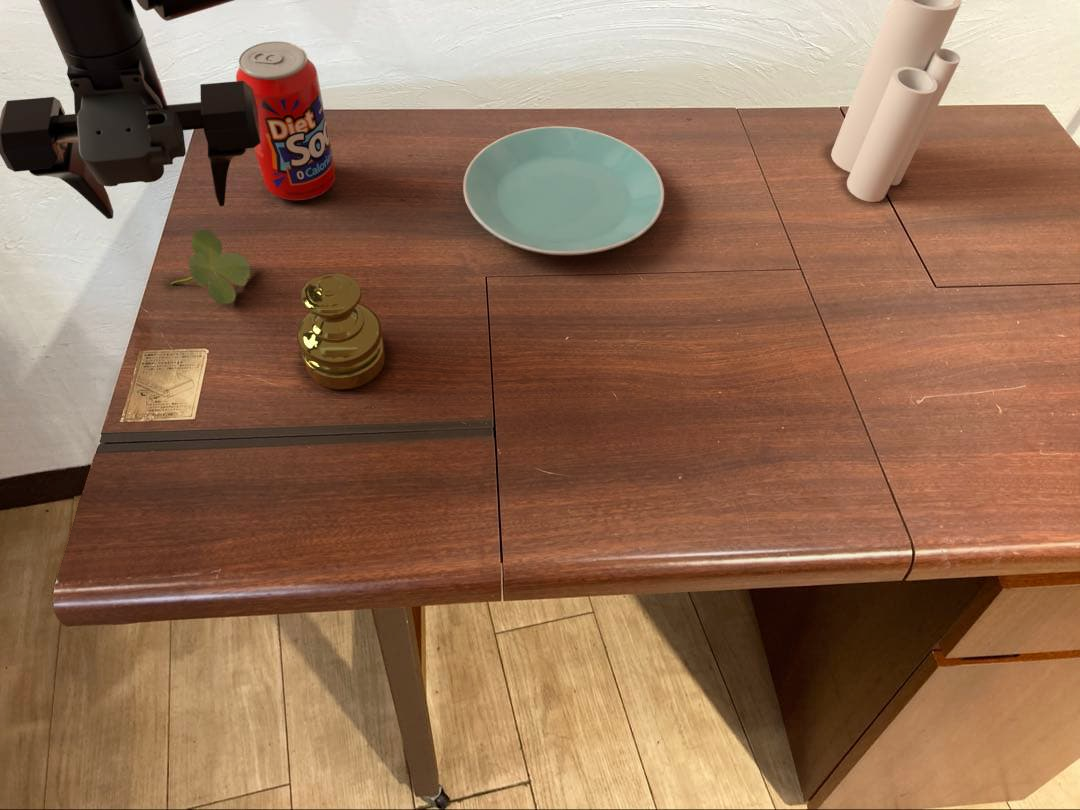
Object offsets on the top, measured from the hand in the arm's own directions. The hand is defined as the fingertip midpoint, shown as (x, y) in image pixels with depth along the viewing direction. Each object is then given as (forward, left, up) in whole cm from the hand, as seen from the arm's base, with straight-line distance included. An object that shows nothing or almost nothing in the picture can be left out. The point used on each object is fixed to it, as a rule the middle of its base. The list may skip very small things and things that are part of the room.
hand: (167, 209), depth 71 cm
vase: (+77, +6, -11) cm, 78 cm away
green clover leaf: (+1, +2, -11) cm, 12 cm away
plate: (+39, +7, -11) cm, 41 cm away
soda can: (+11, +16, -11) cm, 22 cm away
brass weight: (+13, -11, -11) cm, 20 cm away
